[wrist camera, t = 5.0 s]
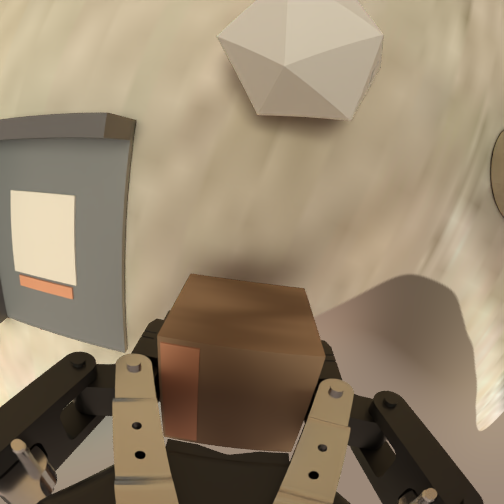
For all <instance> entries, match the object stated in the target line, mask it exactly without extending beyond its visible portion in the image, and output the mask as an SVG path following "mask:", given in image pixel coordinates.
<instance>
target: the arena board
mask: <svg viewBox="0 0 504 504" xmlns="http://www.w3.org/2000/svg"><path fill="white" fill-rule="evenodd" d="M135 125H136V120H133V119H130V118H126V117H122V116H118V115H114V114H110V113H69V114H51V115H38V116H27V117H17V118H9V119H1V120H0V323H1V322H2V321H3V320H5V319H6V318H7V317H9V318H12V319H15V320H17V321H20V322H23V323H26V324H28V325H31V326H34V327H37V328H40V329H43V330H46V331H49V332H52V333H55V334H58V335H62V336H65V337H68V338H71V339H75V340H78V341H82V342H85V343H89V344H93V345H96V346H100V347H104V348H108V349H112V350H116V351H120V352H124V353H125V352H126V350H127V336H126V316H125V233H126V213H127V198H128V185H129V174H130V165H131V156H132V147H133V140H134V132H135Z"/></svg>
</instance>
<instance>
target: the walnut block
mask: <svg viewBox="0 0 504 504" xmlns="http://www.w3.org/2000/svg"><path fill="white" fill-rule="evenodd" d="M157 345H158V369H159V386H160V400H161V412H162V422H163V433H164V437H169V438H174V439H179V440H184V441H190V442H195V443H201V444H208V445H215V446H222V447H231V448H240V449H251V450H264V451H281V452H291V451H292V448H293V446H294V444H295V441H296V439H297V436H298V433H299V431H300V428H301V426H302V423H303V421H304V418H305V415H306V413H307V410H308V407H309V404H310V402H311V399H312V396H313V393H314V390H315V387H316V385H317V382H318V379H319V376H320V373H321V370H322V367H323V364H324V360H325V357H326V356H325V353H324V349H323V346H322V343H321V340H320V336H319V333H318V330H317V327H316V323H315V320H314V317H313V314H312V311H311V307H310V304H309V301H308V298H307V295H306V292H305V289H304V288H296V287H288V286H279V285H271V284H263V283H256V282H248V281H240V280H233V279H225V278H218V277H211V276H204V275H197V274H190V276H189V278H188V279H187V281H186V283H185V285H184V287H183V289H182V290H181V292H180V294H179V296H178V298H177V299H176V301H175V303H174V305H173V307H172V309H171V311H170V312H169V314H168V316H167V318H166V320H165V322H164V324H163V326H162V327H161V329H160V331H159V333H158V335H157Z"/></svg>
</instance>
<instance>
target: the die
mask: <svg viewBox="0 0 504 504" xmlns="http://www.w3.org/2000/svg"><path fill="white" fill-rule="evenodd" d="M383 36H384V35H383V33H382V32H381V30H380V29H379V27H378V26H377V25H376V23H375V22H374V21H373V19H372V18H371V17H370V15H369V14H368V13H367V11H366V10H365V9H364V7H363V6H362V5H361V4H360V2H359V1H358V0H256V1H255V2H253V3H252V4H251V5H250V6H249V7H247V8H246V9H245V10H244V11H243V12H242V13H241V14H240V15H238V16H237V17H236V18H235V19H234V20H233V21H232V22H231V23H230V24H229V25H227V26H226V27H225V28H224V29H223V30H222V31H221V32H220V33H219V34H218V35H217V36H216V37H217V38H218V40H219V42H220V44H221V46H222V47H223V49H224V51H225V53H226V55H227V57H228V59H229V61H230V62H231V64H232V66H233V68H234V70H235V72H236V74H237V76H238V78H239V80H240V82H241V84H242V85H243V87H244V89H245V91H246V93H247V95H248V97H249V99H250V101H251V103H252V105H253V107H254V109H255V111H256V113H257V115H273V116H297V117H313V118H325V119H336V120H346V121H351V120H352V118H353V116H354V115H355V113H356V111H357V109H358V108H359V106H360V104H361V102H362V100H363V99H364V97H365V95H366V93H367V91H368V90H369V88H370V86H371V84H372V82H373V80H374V79H375V77H376V75H377V73H378V71H379V70H380V68H381V59H382V48H383Z"/></svg>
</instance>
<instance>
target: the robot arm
mask: <svg viewBox="0 0 504 504" xmlns="http://www.w3.org/2000/svg"><path fill="white" fill-rule="evenodd" d="M491 179H492V188H493V194H494V197H495V201H496V204H497V206H498V208H499V210H500V212H501V214H502V215H503V216H504V131H503V132H502V133H501V134H500V136H499V138H498V140H497V142H496V145H495V148H494V152H493V157H492V166H491ZM170 311H171V310H169V311H168V313H167V315H166V317H165V319H164V320H161V319H156V320H154V321H152V322H151V323H149V324H148V326H147V328H146V329H145V332H144V333H143V334H142V337H141V338H140V339H139V341H138V343H137V344H136V346H135V348H134V350H133V351H132V353H131V354H127V355H124V356H122V357H120V358H119V359H118V360H117V362H116V364H96V360H95V358H94V357H93V356H92V355H90V354H88V353H85V352H74V353H71V354H69V355H67V356H66V357H64V358H63V359H62V360H60V361H59V362H58V363H56V364H55V365H54V366H52V367H51V368H50V369H49V370H47V371H46V372H45V373H43V374H42V375H41V376H39V377H38V378H37V379H36V380H34V381H33V382H32V383H31V384H29V385H28V386H27V387H25V388H24V389H23V390H22V391H20V392H19V393H18V394H17V395H15V396H14V397H13V398H11V399H10V400H9V401H8V402H6V403H5V404H4V405H3V406H1V407H0V497H1V498H2V499H3V500H4V501H5V502H6V503H8V504H350V503H349V502H348V501H347V500H346V499H344V498H343V497H342V496H341V495H340V494H339V493H338V492H336V490H337V486H338V482H339V479H340V475H341V470H342V466H343V462H344V458H345V454H346V449H347V445H349V446H350V447H351V449H352V451H353V453H354V455H355V456H356V458H357V460H358V462H359V463H360V465H361V467H362V469H363V470H364V472H365V474H366V476H367V477H368V479H369V481H370V483H371V484H372V486H373V488H374V490H375V491H376V493H377V495H378V497H379V498H380V500H381V502H382V503H383V504H483V500H482V498H481V496H480V495H479V494H478V492H477V491H476V490H475V488H474V487H473V486H472V484H471V483H470V482H469V481H468V479H467V478H466V477H465V475H464V474H463V473H462V472H461V470H460V469H459V468H458V467H457V466H456V464H455V463H454V461H453V460H452V459H451V458H450V456H449V455H448V454H447V453H446V451H445V450H444V449H443V448H442V446H441V445H440V444H439V442H438V441H437V440H436V439H435V437H434V436H433V435H432V434H431V433H430V431H429V430H428V429H427V428H426V426H425V425H424V424H423V423H422V421H421V420H420V419H419V418H418V416H417V415H416V414H415V413H414V411H413V410H412V409H411V408H410V407H409V405H408V404H407V403H406V402H405V400H404V399H403V398H402V397H401V396H400V395H398V394H396V393H394V392H390V391H381V392H378V393H377V394H376V395H375V396H374V398H373V399H371V398H366V397H362V396H358V395H355V394H354V391H353V388H352V387H351V386H350V385H349V384H348V383H346V382H344V381H342V378H341V375H340V372H339V369H338V366H337V363H336V362H335V361H336V360H335V357H334V356H333V355H334V354H333V351H332V348H331V347H330V346H329V345H328V344H327V343H326V342H325V341H323V340H321V343H322V346H323V349H324V353H325V356H326V357H325V360H324V364H323V367H322V370H321V373H320V376H319V379H318V382H317V385H316V387H315V390H314V393H313V396H312V399H311V402H310V404H309V407H308V410H307V413H306V415H305V418H304V422H305V425H304V428H303V430H302V433H301V435H300V438H299V440H298V443H297V445H296V448H295V450H294V453H293V455H292V458H291V460H290V461H289V454H288V453H271V452H270V453H269V452H253V453H243V454H233V455H227V454H223V453H220V452H217V451H214V450H211V449H209V448H206V447H203V446H200V445H198V444H192V443H187V442H181V441H176V440H171V439H168V441H167V444H166V447H165V443H164V437H163V432H162V427H161V420H160V414H159V408H158V402H159V401H160V402H161V400H160V386H159V369H158V345H157V335H158V333H159V331H160V329H161V327H162V326H163V324H164V322H165V320H166V318H167V316H168V314H169V312H170ZM72 400H73V401H72ZM71 401H72V402H71ZM70 402H71V403H70ZM69 403H70V404H69ZM105 416H113V450H114V465H112V466H110V467H108V468H106V469H104V470H102V471H100V472H99V473H96V474H94V475H92V476H90V477H88V478H86V479H84V480H82V481H80V482H78V483H76V484H74V485H72V486H69V487H67V488H65V489H63V490H61V491H58V492H56V493H54V494H52V492H53V491H54V487H55V485H56V483H57V474H56V472H55V471H56V470H57V469H58V468H59V466H60V465H61V464H62V463H63V462H64V461H65V460H66V459H67V458H68V457H69V456H70V455H71V454H72V452H73V451H74V450H75V449H76V448H77V447H78V446H79V445H80V444H81V443H82V442H83V440H84V439H85V438H86V437H87V436H88V435H89V434H90V433H91V432H92V430H94V428H95V427H96V426H97V425H98V424H99V423H100V422H101V421H102V420H103V419H104V417H105ZM386 440H388V441H389V442H390V444H391V445H392V447H393V448H394V450H395V453H396V455H395V453H394V452H393V451H392V449H391V448H390V446H389V444H388V443H387V442H386Z"/></svg>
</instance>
